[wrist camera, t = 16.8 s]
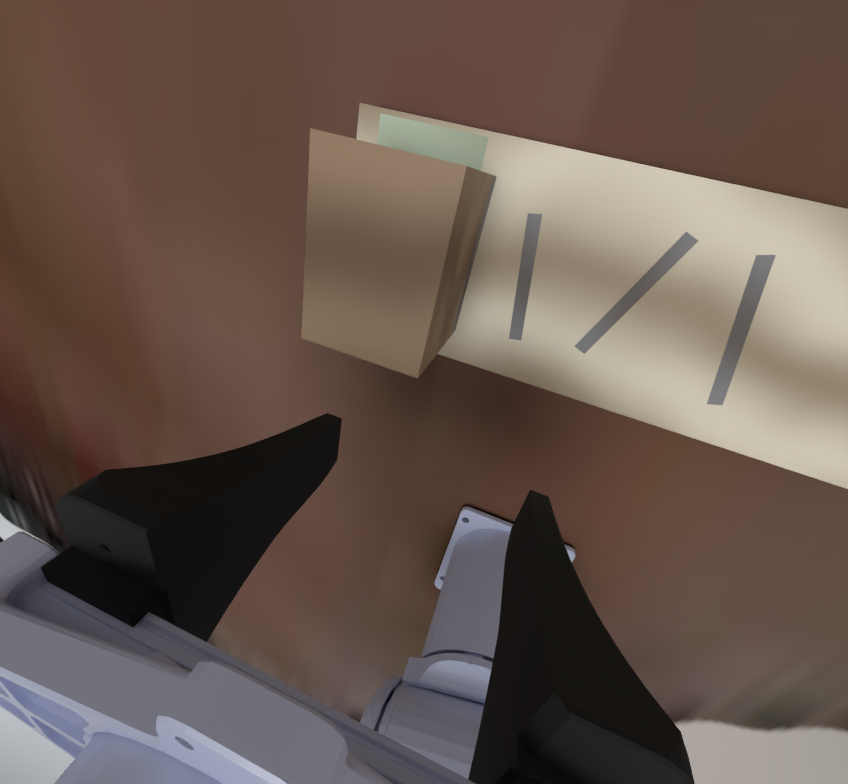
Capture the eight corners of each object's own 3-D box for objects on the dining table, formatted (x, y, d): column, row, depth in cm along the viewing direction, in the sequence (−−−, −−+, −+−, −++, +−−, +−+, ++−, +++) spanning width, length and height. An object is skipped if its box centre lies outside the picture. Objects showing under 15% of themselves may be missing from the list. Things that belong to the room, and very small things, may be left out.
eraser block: (455, 330, 19) (417, 378, 14) (366, 302, 20) (301, 338, 15) (496, 176, 16) (466, 166, 11) (387, 150, 16) (310, 128, 11)
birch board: (885, 487, 18) (911, 509, 16) (351, 314, 22) (339, 321, 21) (1132, 276, 13) (1197, 284, 11) (374, 109, 17) (359, 102, 16)
